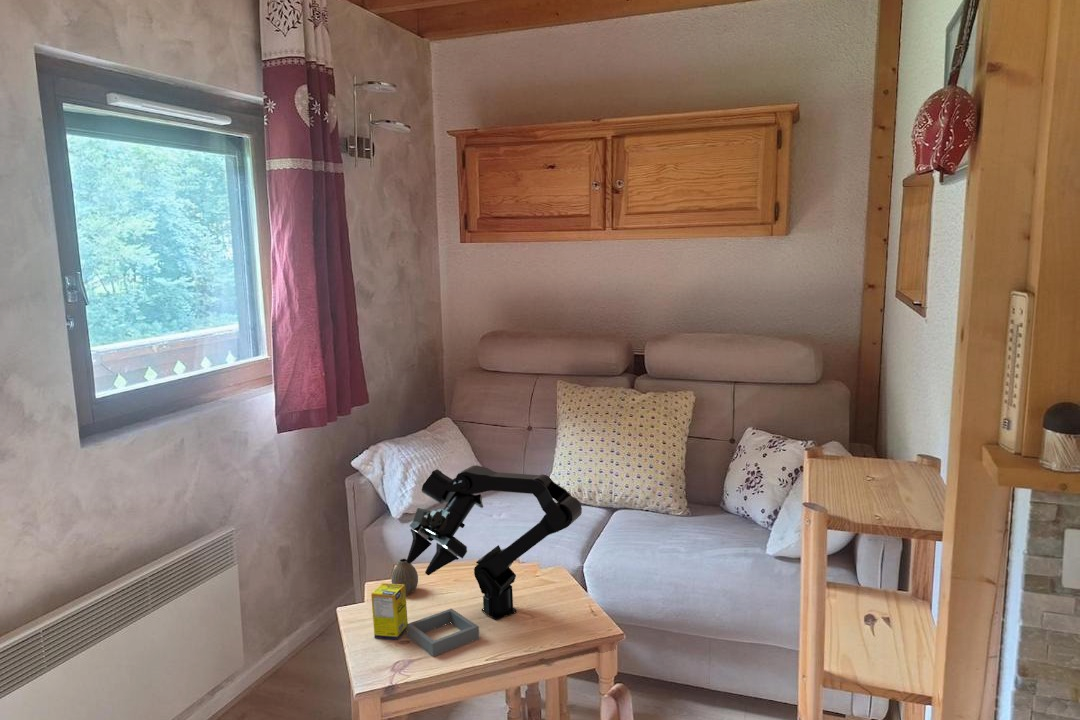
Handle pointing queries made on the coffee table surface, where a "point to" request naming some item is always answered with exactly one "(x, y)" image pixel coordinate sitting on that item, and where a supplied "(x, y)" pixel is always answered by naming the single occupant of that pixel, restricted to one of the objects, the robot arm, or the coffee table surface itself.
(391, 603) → the supplement box
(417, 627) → the collar
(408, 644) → the coffee table surface
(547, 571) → the coffee table surface
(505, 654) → the coffee table surface
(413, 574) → the vase
